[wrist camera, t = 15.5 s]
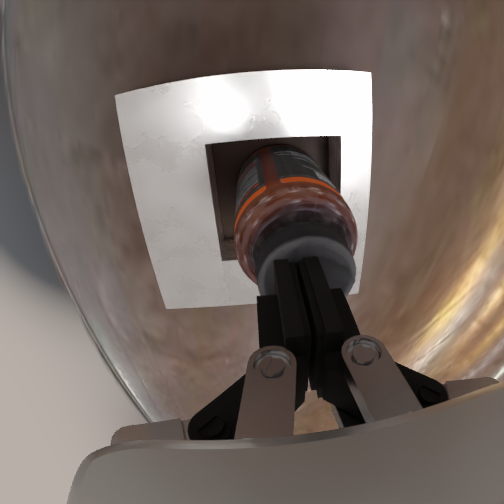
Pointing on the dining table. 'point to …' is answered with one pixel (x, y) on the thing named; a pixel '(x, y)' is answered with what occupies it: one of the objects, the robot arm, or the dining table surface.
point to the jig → (203, 173)
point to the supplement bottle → (291, 218)
